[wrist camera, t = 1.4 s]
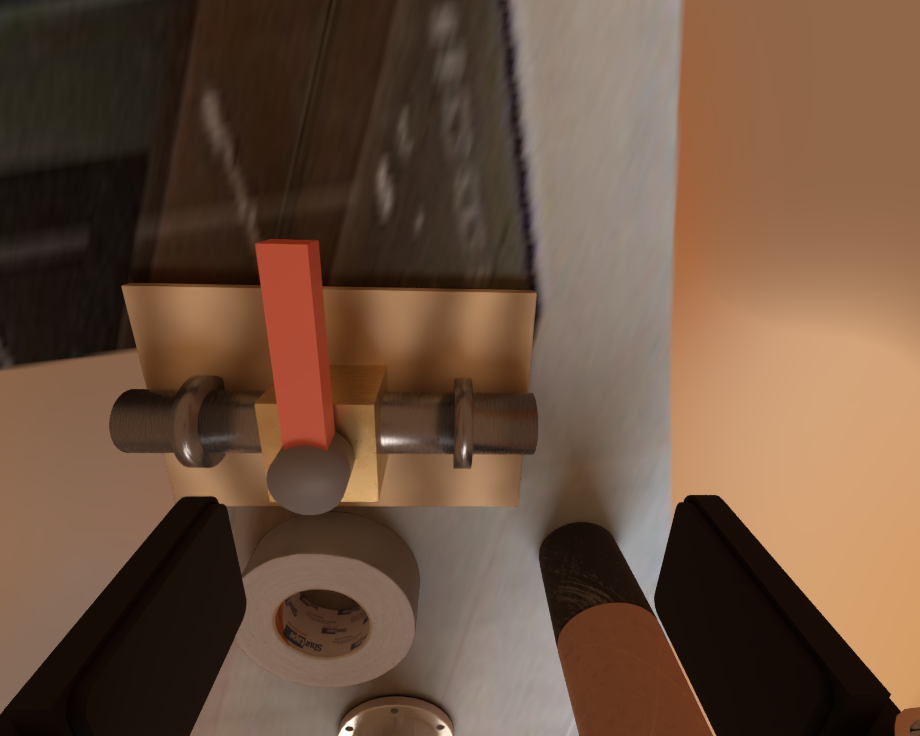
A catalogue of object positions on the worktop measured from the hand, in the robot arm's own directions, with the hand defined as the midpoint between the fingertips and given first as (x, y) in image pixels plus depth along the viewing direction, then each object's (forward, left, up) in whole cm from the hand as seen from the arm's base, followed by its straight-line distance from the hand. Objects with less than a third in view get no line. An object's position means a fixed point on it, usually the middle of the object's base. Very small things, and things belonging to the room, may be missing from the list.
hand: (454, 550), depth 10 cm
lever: (-3, +8, -17) cm, 19 cm away
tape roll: (-27, +10, -25) cm, 38 cm away
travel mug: (-24, -12, -25) cm, 36 cm away
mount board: (-9, +8, -25) cm, 27 cm away
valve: (-9, +8, -25) cm, 27 cm away
